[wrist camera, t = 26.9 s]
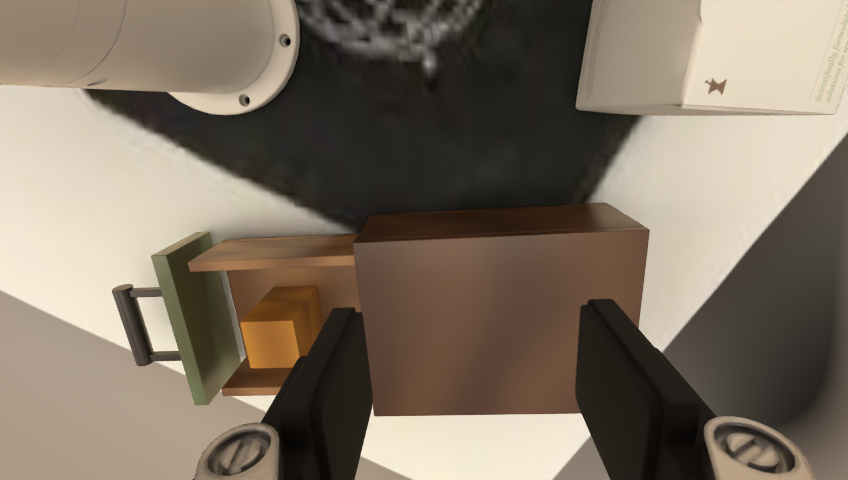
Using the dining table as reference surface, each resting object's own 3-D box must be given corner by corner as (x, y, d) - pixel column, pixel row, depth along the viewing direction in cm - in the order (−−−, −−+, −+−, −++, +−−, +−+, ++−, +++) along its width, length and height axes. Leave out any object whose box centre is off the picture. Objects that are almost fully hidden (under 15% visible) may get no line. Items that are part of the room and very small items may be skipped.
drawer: (177, 364, 40) (134, 406, 34) (138, 234, 36) (82, 258, 30) (419, 359, 38) (414, 401, 33) (408, 221, 34) (401, 244, 28)
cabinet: (387, 359, 39) (374, 416, 32) (371, 214, 35) (352, 242, 28) (594, 354, 38) (628, 413, 31) (606, 202, 34) (650, 229, 26)
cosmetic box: (654, 116, 31) (839, 128, 16) (567, 110, 31) (674, 116, 17) (684, -9, 28) (938, -128, 14) (589, -15, 29) (739, -139, 14)
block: (280, 327, 37) (250, 368, 31) (272, 287, 35) (239, 322, 30) (324, 326, 36) (301, 367, 31) (317, 285, 35) (292, 320, 29)
